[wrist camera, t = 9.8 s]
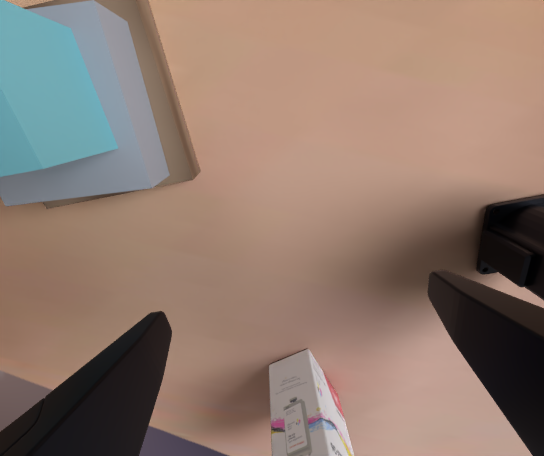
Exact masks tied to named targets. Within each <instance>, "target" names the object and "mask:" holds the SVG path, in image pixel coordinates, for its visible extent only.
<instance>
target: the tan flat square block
mask: <svg viewBox="0 0 544 456" xmlns="http://www.w3.org/2000/svg"><path fill="white" fill-rule="evenodd" d="M83 1H91V0H53V1H49V2H45V3H41V4H37V5H32V6H28V7H24V9H32V8H39V7H47V6H54V5H61V4H69V3H76V2H83ZM94 1H96V2H97V3H99V4H101V5H102V6H104V7H105V8H107V9H108V10H110V11H111V12H113V13H115V14H116V15H118V16H119V17H121V18H122V19H124V20H126V21H127V22H128V26H129V30H130V33H131V37H132V40H133V44H134V48H135V51H136V55H137V58H138V62H139V66H140V69H141V73H142V76H143V80H144V84H145V87H146V91H147V95H148V98H149V102H150V105H151V109H152V113H153V116H154V120H155V123H156V127H157V131H158V134H159V138H160V142H161V145H162V149H163V152H164V156H165V160H166V163H167V167H168V170H169V174H170V176H168V177H167V178H165V179H164V180H163V181H161V182H160V183H159V184H157V185H156V186H154V187H159V186H164V185H169V184H174V183H179V182H184V181H189V180H193V179H194V178H195V177H196V176H197V175H198V174H199V173H200V172H201V171H200V168H199V165H198V161H197V158H196V155H195V151H194V148H193V145H192V142H191V138H190V135H189V132H188V129H187V125H186V122H185V119H184V115H183V112H182V109H181V106H180V102H179V99H178V96H177V92H176V89H175V86H174V83H173V79H172V76H171V73H170V70H169V66H168V63H167V60H166V56H165V53H164V50H163V47H162V43H161V40H160V37H159V33H158V30H157V27H156V24H155V20H154V17H153V14H152V11H151V7H150V4H149V1H148V0H94ZM154 187H153V188H154ZM141 190H144V189H141ZM134 191H139V190H133V191H125V192H117V193H109V194H101V195H93V196H85V197H77V198H69V199H61V200H53V201H44V202H43V203H44V205H45V207H46V208H47V209H49V208H54V207H59V206H64V205H69V204H74V203H79V202H84V201H89V200H94V199H99V198H104V197H109V196H114V195H119V194H124V193H129V192H134Z"/></svg>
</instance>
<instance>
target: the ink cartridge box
mask: <svg viewBox="0 0 544 456" xmlns="http://www.w3.org/2000/svg"><path fill="white" fill-rule="evenodd" d="M269 386H270V413H271V444H272V456H354V453H353V450H352V446H351V442H350V438H349V435H348V431H347V427H346V423H345V419H344V415H343V412H342V408H341V405H340V401H339V397H338V394H337V393H336V391H335V390H334V388H333V387H332V385H331V384H330V382H329V380H328V379H327V377H326V376H325V374H324V372H323V371H322V369H321V368H320V366H319V365H318V363H317V361H316V360H315V358H314V357H313V355H312V353H311V352H310V350H309V349H306V350H304V351H301V352H299V353H296V354H294V355H292V356H289V357H287V358H285V359H282V360H280V361H277V362H275V363H273V364H270V365H269Z"/></svg>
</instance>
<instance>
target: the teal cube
mask: <svg viewBox="0 0 544 456" xmlns="http://www.w3.org/2000/svg"><path fill="white" fill-rule="evenodd" d="M114 149H118V146H117V143H116V141H115V138H114V136H113V133H112V131H111V128H110V126H109V123H108V121H107V118H106V116H105V113H104V111H103V108H102V106H101V103H100V101H99V98H98V96H97V93H96V90H95V88H94V85H93V83H92V80H91V78H90V75H89V73H88V70H87V68H86V65H85V63H84V60H83V58H82V55H81V53H80V50H79V48H78V45H77V43H76V40H75V38H74V35H73V33H72V30H71V28H69V27H67V26H64V25H62V24H59V23H57V22H55V21H52V20H50V19H48V18H45V17H43V16H40V15H38V14H36V13H33V12H31V11H28V10H26V9H24V8H21V7H19V6H16V5H14V4H12V3H9V2H7V1H5V0H0V177H3V176H8V175H13V174H19V173H24V172H29V171H35V170H40V169H45V168H48V167H52V166H56V165H59V164H63V163H67V162H70V161H74V160H78V159H81V158H85V157H89V156H92V155H96V154H100V153H103V152H107V151H111V150H114Z"/></svg>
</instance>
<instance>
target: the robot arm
mask: <svg viewBox="0 0 544 456" xmlns="http://www.w3.org/2000/svg"><path fill="white" fill-rule="evenodd" d="M494 210H495V211H494ZM493 211H494V212H493ZM476 270H477V271H478V272H479V273H480V274H490V273H496V272H499V273H500V274H502V275H503V276H505V277H506V278H508V279H509V280H510V281H512V282H513V283H515V284H516V285H518V286H519V287H525V288H527V289H528V290H530V291H531V292H532V293H534V294H535V295H537V296H538V297H540V298H541V299H543V300H544V195H541V196H535V197H530V198H524V199H519V200H513V201H508V202H502V203H497V204H492V205H490V206H489V207H488V208H487V209H486V213H485V219H484V225H483V231H482V237H481V243H480V249H479V255H478V261H477V267H476ZM428 297H429V299H430V301H431V303H432V305H433V307H434V308H435V310H436V312H437V314H438V316H439V317H440V319H441V321H442V323H443V325H444V326H445V328H446V330H447V332H448V334H449V335H450V337H451V339H452V340H453V342H454V343H455V345H456V346H457V348H458V349H459V351H460V352H461V354H462V355H463V357H464V358H465V359H466V361H467V362H468V364H469V365H470V367H471V368H472V369H473V371H474V372H475V374H476V375H477V377H478V378H479V379H480V381H481V382H482V384H483V385H484V387H485V388H486V390H487V391H488V392H489V394H490V395H491V397H492V398H493V400H494V401H495V402H496V404H497V405H498V407H499V408H500V410H501V411H502V412H503V414H504V415H505V417H506V418H507V420H508V421H509V422H510V424H511V425H512V427H513V428H514V430H515V431H516V432H517V434H518V435H519V437H520V438H521V440H522V441H523V442H524V444H525V445H526V447H527V448H528V450H529V451H530V452H531V454H532V455H533V456H544V308H542V307H539V306H536V305H534V304H531V303H529V302H526V301H523V300H521V299H518V298H516V297H513V296H511V295H508V294H505V293H503V292H500V291H498V290H495V289H492V288H490V287H487V286H485V285H482V284H480V283H477V282H474V281H472V280H469V279H467V278H464V277H462V276H459V275H456V274H454V273H451V272H449V271H446V270H438V271H432V272H430V274H429V281H428ZM171 337H172V330H171V327H170V324H169V322H168V320H167V317H166V315H165V313H164V312H162V311H158V312H152V313H150V314H148V315H147V316H146V317H144V318H143V319H142V320H141V321H139V322H138V323H137V324H136V325H134V326H133V327H132V328H131V329H129V330H128V331H127V332H126V333H124V334H123V335H122V336H121V337H119V338H118V339H117V340H116V341H114V342H113V343H112V344H111V345H109V346H108V347H107V348H106V349H104V350H103V351H102V352H101V353H99V354H98V355H97V356H96V357H94V358H93V359H92V360H91V361H89V362H88V363H87V364H86V365H84V366H83V367H82V368H81V369H79V370H78V371H77V372H76V373H74V374H73V375H72V376H70V377H69V378H68V379H67V380H65V381H64V382H63V383H62V384H60V385H59V386H58V387H57V388H55V389H54V390H53V391H52V392H50V394H48V395H47V396H46V397H45V398H43V399H42V400H40V401H39V402H38V403H37V404H35V405H34V406H33V407H32V408H30V409H29V410H28V411H27V412H25V413H24V414H23V415H22V416H20V417H19V418H18V419H16V420H15V421H14V422H12V423H11V424H10V425H9V426H7V427H6V428H5V429H3V430H2V431H1V432H0V456H139V454H140V450H141V447H142V444H143V441H144V437H145V434H146V431H147V428H148V425H149V422H150V418H151V415H152V412H153V409H154V406H155V402H156V399H157V396H158V393H159V390H160V386H161V383H162V379H163V375H164V371H165V366H166V361H167V356H168V351H169V346H170V342H171Z"/></svg>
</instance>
